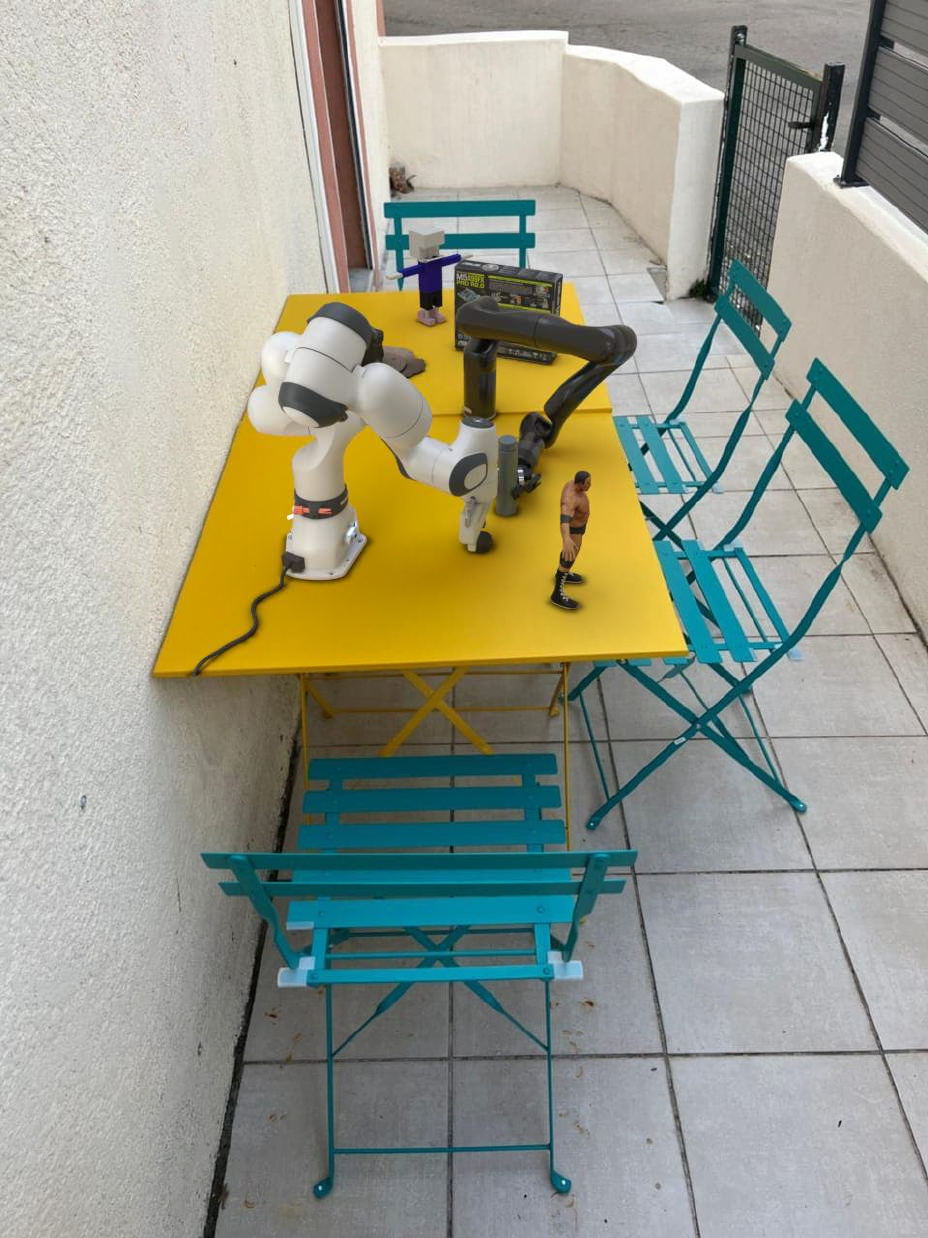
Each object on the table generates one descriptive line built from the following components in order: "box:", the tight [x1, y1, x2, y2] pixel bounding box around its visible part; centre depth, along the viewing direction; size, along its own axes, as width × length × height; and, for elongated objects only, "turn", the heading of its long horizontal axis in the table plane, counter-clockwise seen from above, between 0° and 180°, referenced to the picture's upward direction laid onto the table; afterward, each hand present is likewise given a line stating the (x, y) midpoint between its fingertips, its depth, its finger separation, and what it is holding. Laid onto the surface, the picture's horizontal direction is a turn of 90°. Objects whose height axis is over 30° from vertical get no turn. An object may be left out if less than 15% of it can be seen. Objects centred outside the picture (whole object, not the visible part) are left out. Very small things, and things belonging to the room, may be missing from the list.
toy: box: [384, 223, 474, 327], centre depth 298 cm, size 35×10×30 cm, turn 130°
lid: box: [466, 530, 493, 554], centre depth 204 cm, size 6×6×2 cm
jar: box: [495, 434, 518, 517], centre depth 210 cm, size 5×5×20 cm
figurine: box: [550, 470, 592, 610], centre depth 182 cm, size 24×6×30 cm, turn 168°
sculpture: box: [360, 325, 426, 378], centre depth 273 cm, size 33×35×16 cm
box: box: [453, 259, 564, 365], centre depth 278 cm, size 34×7×27 cm, turn 68°
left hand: (477, 537), depth 203 cm, fingers open, 8 cm apart
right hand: (503, 494), depth 210 cm, fingers closed on jar, 5 cm apart
